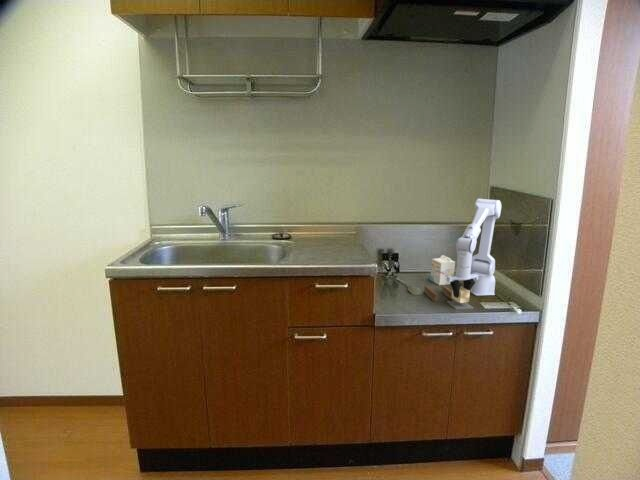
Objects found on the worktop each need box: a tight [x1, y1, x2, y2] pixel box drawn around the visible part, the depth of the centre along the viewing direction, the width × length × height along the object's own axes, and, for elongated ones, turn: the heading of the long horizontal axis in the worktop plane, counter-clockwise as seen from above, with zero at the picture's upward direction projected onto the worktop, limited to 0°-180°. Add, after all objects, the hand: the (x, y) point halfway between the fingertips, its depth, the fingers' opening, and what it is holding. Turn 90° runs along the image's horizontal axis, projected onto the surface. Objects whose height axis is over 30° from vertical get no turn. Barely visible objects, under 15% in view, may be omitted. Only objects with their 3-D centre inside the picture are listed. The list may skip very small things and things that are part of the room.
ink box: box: [429, 254, 456, 286], centre depth 198 cm, size 9×8×13 cm
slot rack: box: [423, 285, 455, 302], centre depth 179 cm, size 10×11×3 cm
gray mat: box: [446, 300, 474, 310], centre depth 169 cm, size 8×8×1 cm
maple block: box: [451, 286, 471, 303], centre depth 168 cm, size 4×6×5 cm
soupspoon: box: [396, 277, 424, 296], centre depth 191 cm, size 22×3×7 cm
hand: (460, 296), depth 168 cm, fingers closed on maple block, 4 cm apart
